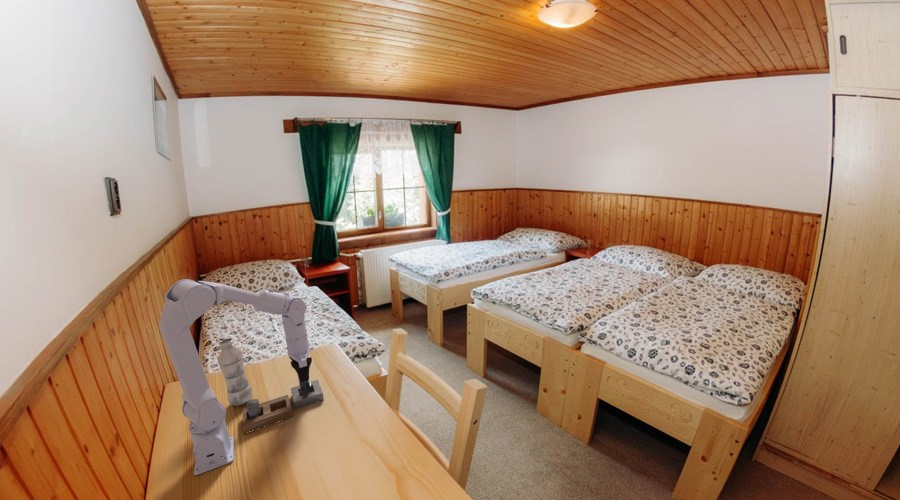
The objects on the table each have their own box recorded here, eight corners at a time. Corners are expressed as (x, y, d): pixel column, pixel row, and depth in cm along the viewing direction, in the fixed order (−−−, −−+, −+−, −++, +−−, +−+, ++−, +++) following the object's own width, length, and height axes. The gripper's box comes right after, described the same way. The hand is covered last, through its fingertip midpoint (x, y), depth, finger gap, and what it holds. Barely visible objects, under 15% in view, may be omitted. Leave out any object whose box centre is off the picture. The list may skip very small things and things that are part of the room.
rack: (292, 417, 105) (289, 398, 104) (244, 434, 100) (240, 414, 98) (289, 401, 112) (286, 384, 111) (244, 416, 107) (240, 398, 105)
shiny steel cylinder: (311, 389, 112) (307, 361, 110) (301, 392, 111) (296, 365, 109) (310, 384, 115) (305, 357, 112) (299, 387, 113) (294, 360, 111)
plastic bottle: (258, 394, 116) (243, 335, 112) (244, 408, 110) (228, 345, 105) (239, 395, 117) (224, 336, 113) (224, 409, 111) (207, 347, 106)
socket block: (323, 400, 112) (322, 392, 111) (295, 409, 108) (293, 402, 108) (319, 386, 119) (317, 379, 118) (291, 395, 115) (290, 388, 115)
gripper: (315, 342, 104) (322, 385, 107) (307, 323, 117) (313, 362, 120) (287, 349, 101) (296, 393, 104) (282, 329, 113) (290, 369, 117)
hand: (303, 377), depth 112 cm, fingers closed on shiny steel cylinder, 3 cm apart
